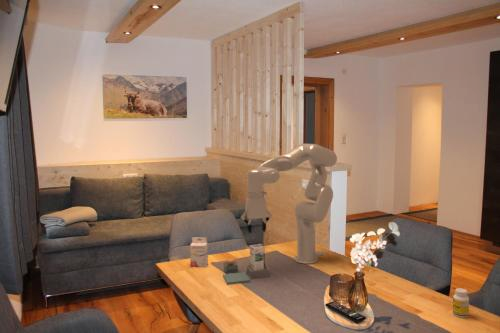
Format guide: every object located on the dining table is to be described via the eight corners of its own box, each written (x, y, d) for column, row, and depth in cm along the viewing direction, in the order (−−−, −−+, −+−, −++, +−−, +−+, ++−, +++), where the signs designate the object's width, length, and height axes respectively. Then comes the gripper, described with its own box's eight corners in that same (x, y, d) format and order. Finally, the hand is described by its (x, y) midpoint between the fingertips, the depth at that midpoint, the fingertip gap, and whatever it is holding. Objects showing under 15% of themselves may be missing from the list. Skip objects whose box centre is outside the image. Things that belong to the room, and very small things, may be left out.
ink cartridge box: (190, 267, 224) (189, 239, 222) (192, 263, 229) (191, 236, 227) (206, 267, 223) (205, 239, 221) (208, 263, 228) (207, 236, 226)
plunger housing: (235, 268, 219) (235, 261, 219) (237, 272, 213) (237, 265, 213) (223, 270, 218) (223, 262, 217) (226, 274, 212) (225, 266, 211)
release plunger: (233, 268, 218) (233, 257, 217) (235, 270, 214) (235, 259, 213) (226, 269, 217) (225, 258, 216) (227, 271, 213) (227, 260, 212)
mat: (244, 273, 212) (244, 271, 211) (250, 281, 201) (250, 279, 201) (222, 276, 209) (222, 274, 209) (227, 284, 198) (227, 282, 198)
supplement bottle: (449, 312, 165) (450, 287, 164) (463, 311, 165) (464, 286, 164) (457, 318, 160) (458, 293, 158) (471, 317, 160) (472, 292, 159)
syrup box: (254, 277, 207) (254, 247, 205) (250, 273, 212) (249, 244, 211) (265, 275, 209) (265, 246, 207) (261, 271, 214) (260, 243, 213)
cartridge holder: (264, 270, 216) (264, 263, 216) (269, 276, 207) (269, 269, 207) (246, 272, 214) (246, 265, 214) (251, 278, 205) (251, 271, 205)
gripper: (270, 192, 212) (271, 228, 214) (236, 195, 208) (237, 231, 210) (275, 195, 205) (276, 231, 207) (240, 197, 201) (241, 235, 203)
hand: (256, 231), depth 208 cm, fingers open, 6 cm apart
